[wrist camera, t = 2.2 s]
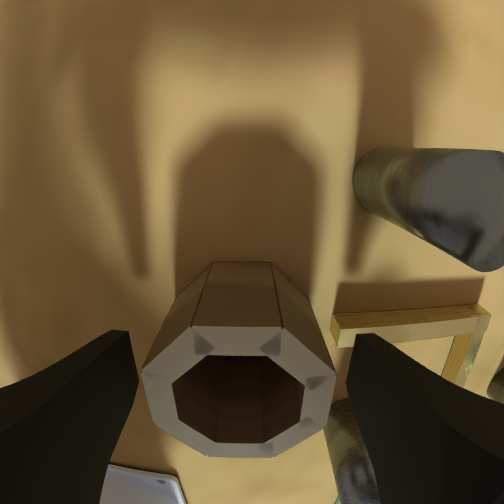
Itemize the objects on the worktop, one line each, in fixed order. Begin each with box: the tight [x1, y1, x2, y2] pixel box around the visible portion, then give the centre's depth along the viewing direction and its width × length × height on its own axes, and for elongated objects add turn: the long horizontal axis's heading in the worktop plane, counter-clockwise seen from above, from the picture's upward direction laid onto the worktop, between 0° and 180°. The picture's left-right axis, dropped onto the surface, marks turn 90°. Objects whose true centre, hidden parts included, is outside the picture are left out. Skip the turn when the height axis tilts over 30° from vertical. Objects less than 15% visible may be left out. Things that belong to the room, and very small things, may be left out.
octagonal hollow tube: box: [140, 262, 337, 458], centre depth 10 cm, size 5×5×4 cm
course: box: [323, 148, 504, 504], centre depth 9 cm, size 14×15×6 cm
